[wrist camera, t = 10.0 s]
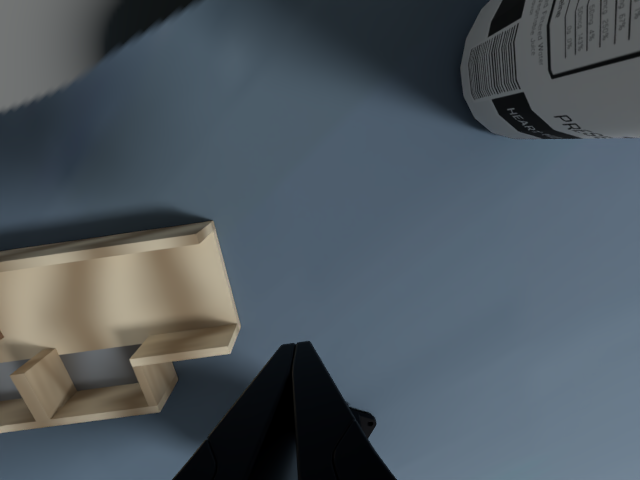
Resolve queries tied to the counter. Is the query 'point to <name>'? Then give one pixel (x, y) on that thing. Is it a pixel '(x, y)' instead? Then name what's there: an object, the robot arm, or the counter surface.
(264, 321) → the counter surface
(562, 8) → the supplement can
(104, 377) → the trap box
